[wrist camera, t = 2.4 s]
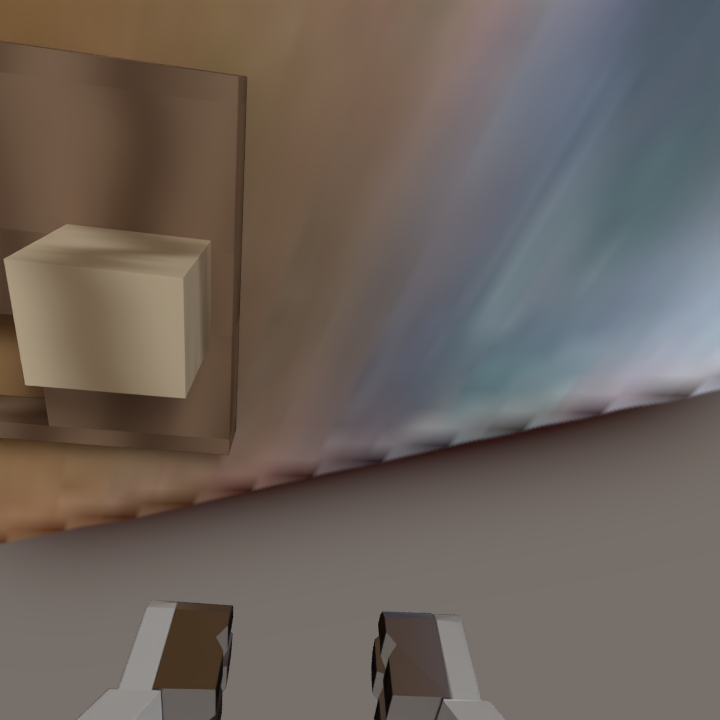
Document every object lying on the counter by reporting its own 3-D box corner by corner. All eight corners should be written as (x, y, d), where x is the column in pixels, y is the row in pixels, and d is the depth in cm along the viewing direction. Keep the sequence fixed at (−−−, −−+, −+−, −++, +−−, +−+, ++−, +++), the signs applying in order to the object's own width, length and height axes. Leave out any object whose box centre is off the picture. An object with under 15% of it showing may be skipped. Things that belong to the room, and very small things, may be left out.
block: (211, 240, 24) (183, 277, 19) (210, 343, 26) (185, 398, 21) (66, 223, 23) (3, 259, 19) (78, 331, 25) (25, 385, 21)
